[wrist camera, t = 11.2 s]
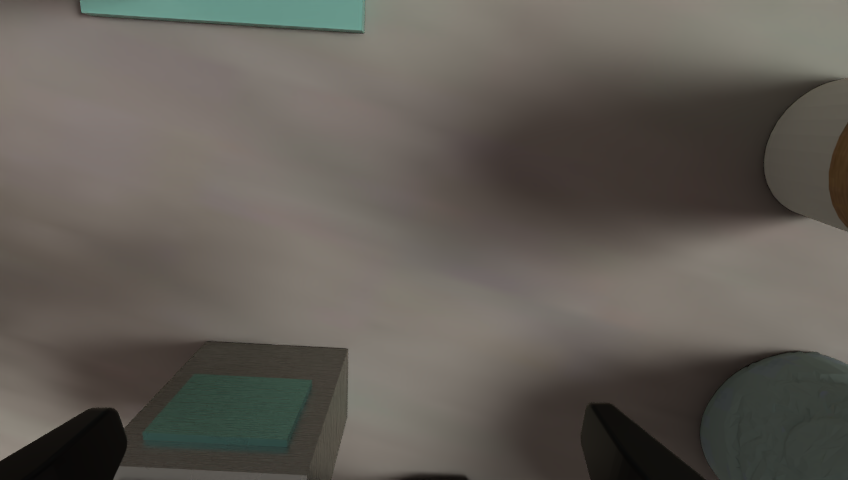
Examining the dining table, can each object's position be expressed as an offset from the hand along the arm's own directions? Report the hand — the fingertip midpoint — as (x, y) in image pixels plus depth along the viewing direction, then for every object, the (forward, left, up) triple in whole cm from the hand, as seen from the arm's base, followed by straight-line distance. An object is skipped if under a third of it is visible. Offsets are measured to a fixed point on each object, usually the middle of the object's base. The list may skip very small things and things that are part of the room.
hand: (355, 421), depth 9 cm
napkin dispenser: (-8, +6, -12) cm, 16 cm away
